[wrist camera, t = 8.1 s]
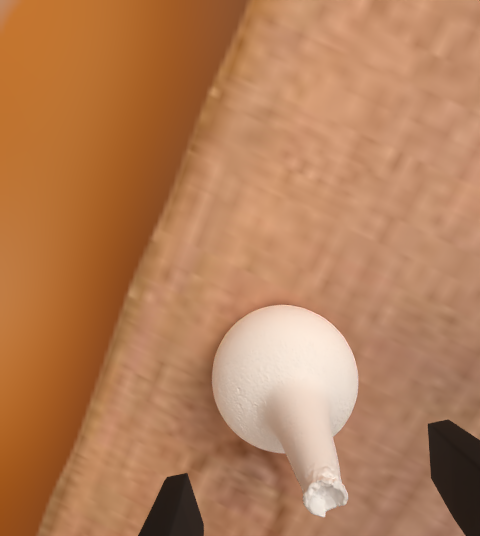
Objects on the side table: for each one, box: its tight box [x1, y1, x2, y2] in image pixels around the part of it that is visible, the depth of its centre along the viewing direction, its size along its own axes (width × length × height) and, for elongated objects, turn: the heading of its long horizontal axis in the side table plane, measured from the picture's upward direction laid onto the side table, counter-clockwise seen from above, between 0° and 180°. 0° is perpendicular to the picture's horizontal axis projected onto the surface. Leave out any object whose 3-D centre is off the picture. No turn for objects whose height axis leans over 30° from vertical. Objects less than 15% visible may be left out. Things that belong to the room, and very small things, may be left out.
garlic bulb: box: [212, 305, 358, 517], centre depth 12 cm, size 6×6×8 cm
